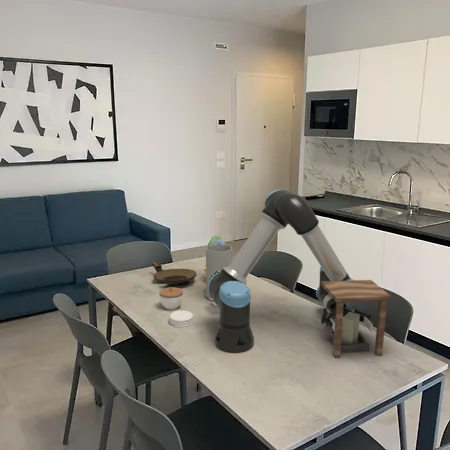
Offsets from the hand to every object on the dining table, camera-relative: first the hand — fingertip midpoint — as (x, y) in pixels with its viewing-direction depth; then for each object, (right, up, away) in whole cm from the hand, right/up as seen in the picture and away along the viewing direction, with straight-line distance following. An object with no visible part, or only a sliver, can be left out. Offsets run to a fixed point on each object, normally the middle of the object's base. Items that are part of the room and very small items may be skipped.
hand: (354, 328), depth 169 cm
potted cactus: (-52, +8, +73) cm, 91 cm away
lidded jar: (-73, +1, +40) cm, 83 cm away
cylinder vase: (-51, +3, +52) cm, 73 cm away
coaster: (-67, -3, +24) cm, 72 cm away
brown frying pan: (-76, +8, +74) cm, 107 cm away
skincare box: (0, -8, +5) cm, 9 cm away
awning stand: (0, -8, +5) cm, 9 cm away
